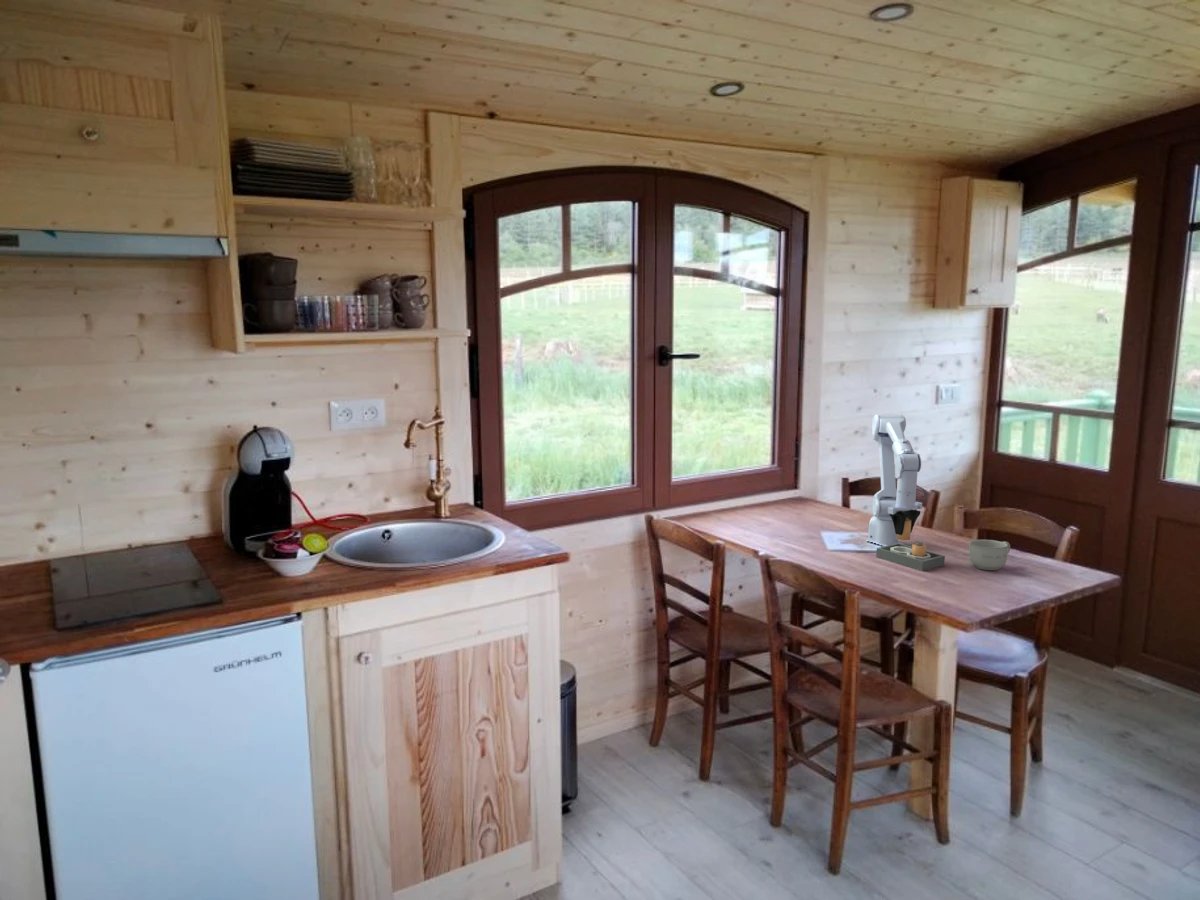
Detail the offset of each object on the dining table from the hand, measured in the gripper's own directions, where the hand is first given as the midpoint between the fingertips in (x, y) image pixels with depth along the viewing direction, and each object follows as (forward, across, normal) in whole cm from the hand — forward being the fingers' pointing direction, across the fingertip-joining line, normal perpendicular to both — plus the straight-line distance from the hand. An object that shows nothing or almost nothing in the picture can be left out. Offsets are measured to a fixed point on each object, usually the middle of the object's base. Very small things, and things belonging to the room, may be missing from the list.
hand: (903, 533), depth 263 cm
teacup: (+9, +16, -20) cm, 27 cm away
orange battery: (+2, 0, 0) cm, 2 cm away
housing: (+8, 0, -3) cm, 9 cm away
